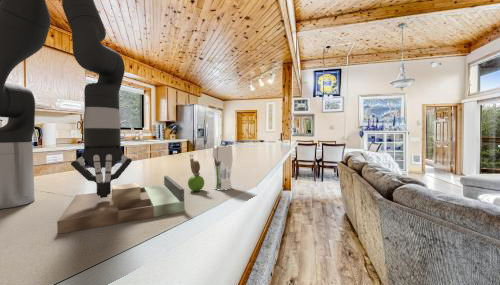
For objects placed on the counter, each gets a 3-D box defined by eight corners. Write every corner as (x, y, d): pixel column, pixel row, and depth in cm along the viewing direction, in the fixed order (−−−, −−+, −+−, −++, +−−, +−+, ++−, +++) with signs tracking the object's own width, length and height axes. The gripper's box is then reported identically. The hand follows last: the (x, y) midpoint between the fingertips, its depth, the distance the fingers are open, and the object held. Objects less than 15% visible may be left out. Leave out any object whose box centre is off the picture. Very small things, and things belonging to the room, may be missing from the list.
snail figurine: (198, 187, 79) (198, 154, 79) (207, 191, 74) (206, 155, 74) (184, 190, 75) (183, 155, 75) (192, 193, 71) (191, 156, 70)
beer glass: (214, 191, 73) (213, 146, 73) (212, 186, 80) (211, 145, 80) (234, 190, 75) (234, 146, 75) (230, 185, 82) (230, 145, 81)
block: (113, 202, 54) (112, 190, 54) (112, 196, 59) (111, 185, 58) (140, 198, 57) (140, 186, 57) (137, 193, 62) (136, 182, 62)
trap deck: (57, 234, 42) (56, 205, 42) (76, 204, 61) (75, 184, 61) (184, 211, 54) (184, 189, 54) (167, 192, 73) (167, 175, 73)
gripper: (64, 126, 48) (66, 205, 48) (133, 127, 54) (134, 196, 55) (71, 127, 54) (73, 197, 55) (132, 128, 61) (133, 190, 61)
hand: (104, 196), depth 55 cm, fingers closed
